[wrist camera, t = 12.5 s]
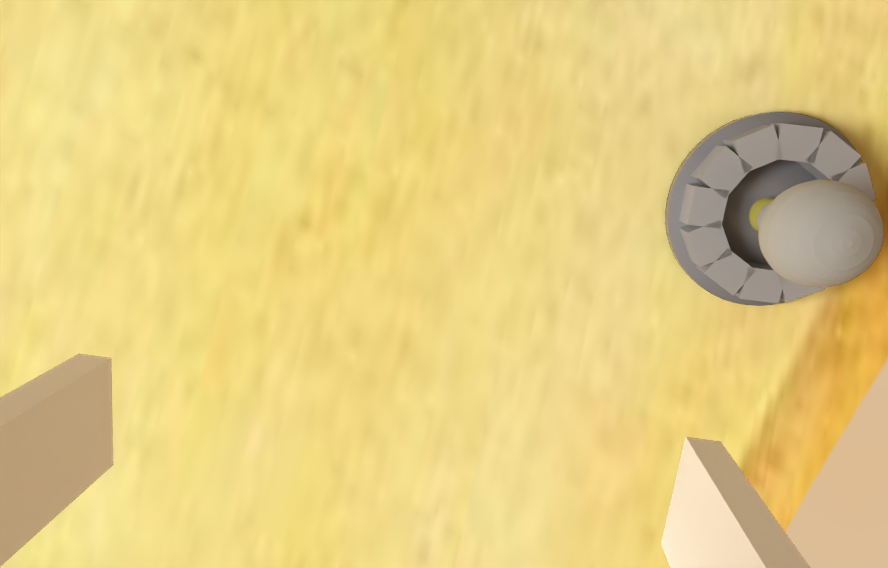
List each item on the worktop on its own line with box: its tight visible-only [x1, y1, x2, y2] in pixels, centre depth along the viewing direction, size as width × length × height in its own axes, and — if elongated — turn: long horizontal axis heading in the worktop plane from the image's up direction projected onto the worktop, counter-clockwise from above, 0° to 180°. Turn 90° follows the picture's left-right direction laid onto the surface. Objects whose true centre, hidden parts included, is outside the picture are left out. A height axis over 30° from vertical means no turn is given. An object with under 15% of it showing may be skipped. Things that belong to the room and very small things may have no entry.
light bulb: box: [749, 180, 884, 287], centre depth 35 cm, size 6×5×10 cm
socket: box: [665, 112, 877, 306], centre depth 39 cm, size 12×12×3 cm
